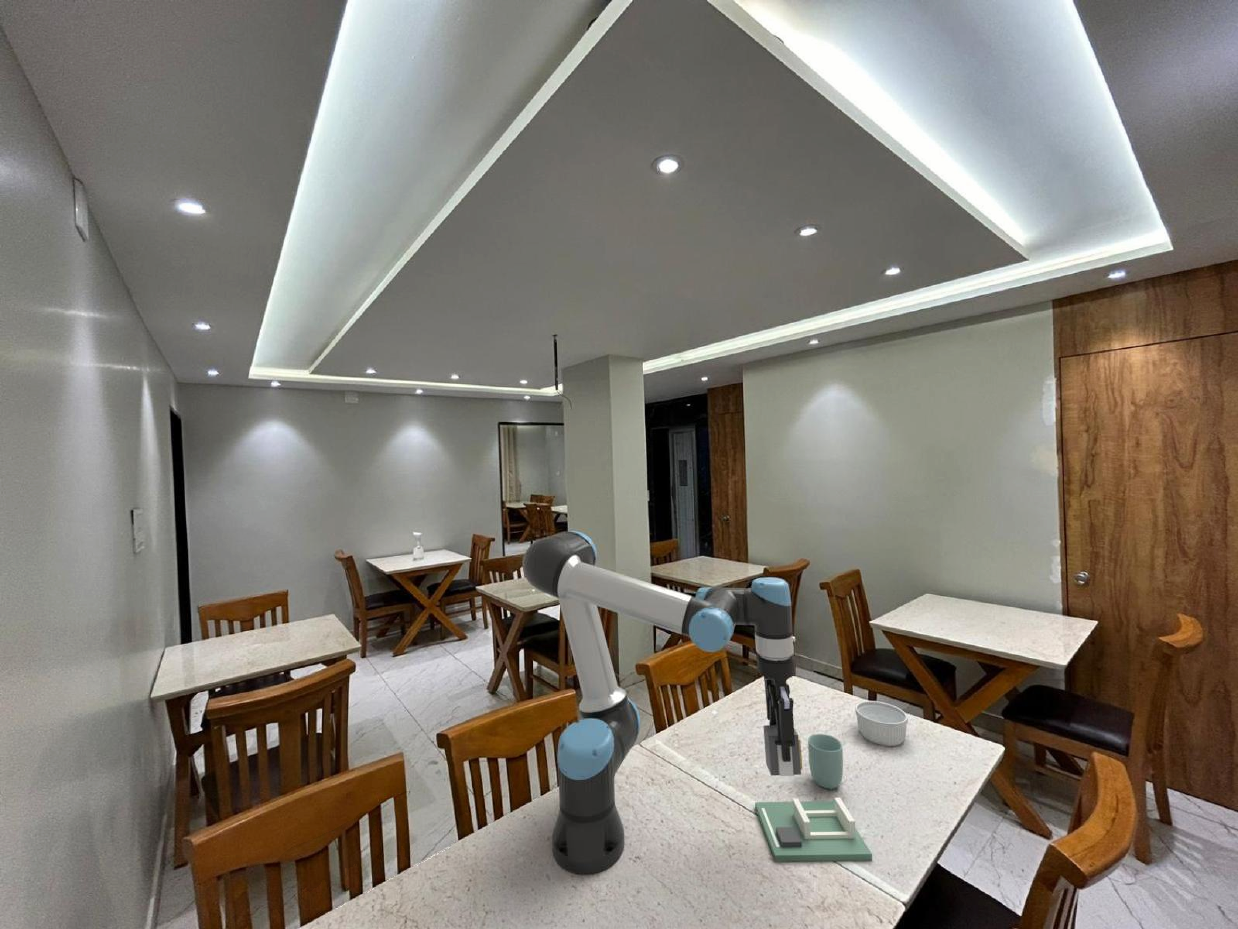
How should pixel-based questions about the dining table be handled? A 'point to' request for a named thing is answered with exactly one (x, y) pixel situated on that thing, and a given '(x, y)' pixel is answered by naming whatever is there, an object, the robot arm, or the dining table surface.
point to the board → (811, 831)
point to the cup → (825, 760)
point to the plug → (772, 753)
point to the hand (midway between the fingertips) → (782, 767)
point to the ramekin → (881, 722)
